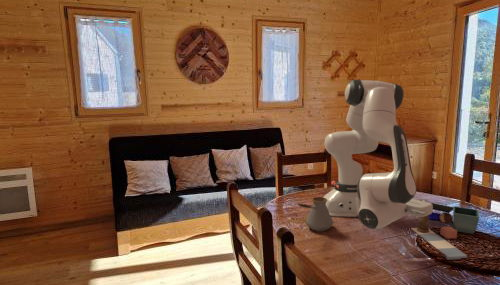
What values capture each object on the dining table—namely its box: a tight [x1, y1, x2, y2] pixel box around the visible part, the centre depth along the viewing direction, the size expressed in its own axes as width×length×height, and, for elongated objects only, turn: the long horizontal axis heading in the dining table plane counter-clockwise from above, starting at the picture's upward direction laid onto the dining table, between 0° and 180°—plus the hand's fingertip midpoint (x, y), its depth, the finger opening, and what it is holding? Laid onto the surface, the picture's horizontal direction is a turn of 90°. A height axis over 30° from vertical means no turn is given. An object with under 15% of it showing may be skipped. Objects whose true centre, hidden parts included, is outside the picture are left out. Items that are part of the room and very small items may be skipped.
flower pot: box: [452, 205, 480, 235], centre depth 136 cm, size 9×9×9 cm
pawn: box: [416, 215, 430, 233], centre depth 136 cm, size 4×4×11 cm
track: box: [410, 227, 468, 261], centre depth 128 cm, size 7×24×1 cm, turn 4°
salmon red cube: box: [439, 226, 458, 239], centre depth 132 cm, size 4×4×4 cm
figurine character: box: [428, 202, 454, 224], centre depth 149 cm, size 7×8×15 cm
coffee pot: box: [295, 196, 334, 232], centre depth 140 cm, size 21×12×15 cm, turn 135°
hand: (411, 198), depth 126 cm, fingers open, 8 cm apart
